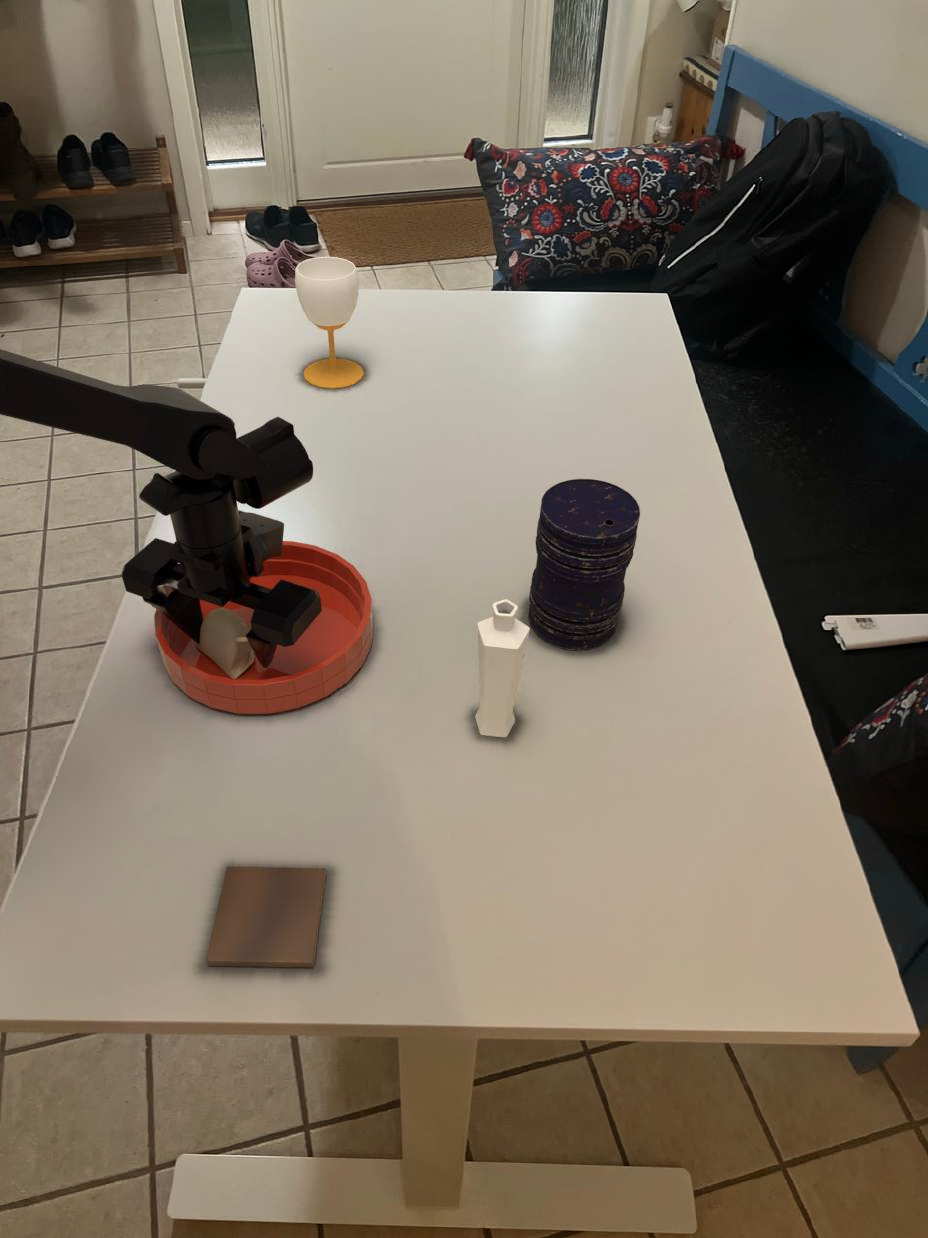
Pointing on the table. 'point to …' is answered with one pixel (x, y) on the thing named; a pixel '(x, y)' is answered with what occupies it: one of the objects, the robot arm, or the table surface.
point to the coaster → (267, 917)
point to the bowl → (295, 670)
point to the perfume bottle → (499, 668)
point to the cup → (329, 314)
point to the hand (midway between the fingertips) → (234, 652)
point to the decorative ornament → (226, 641)
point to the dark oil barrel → (581, 562)
